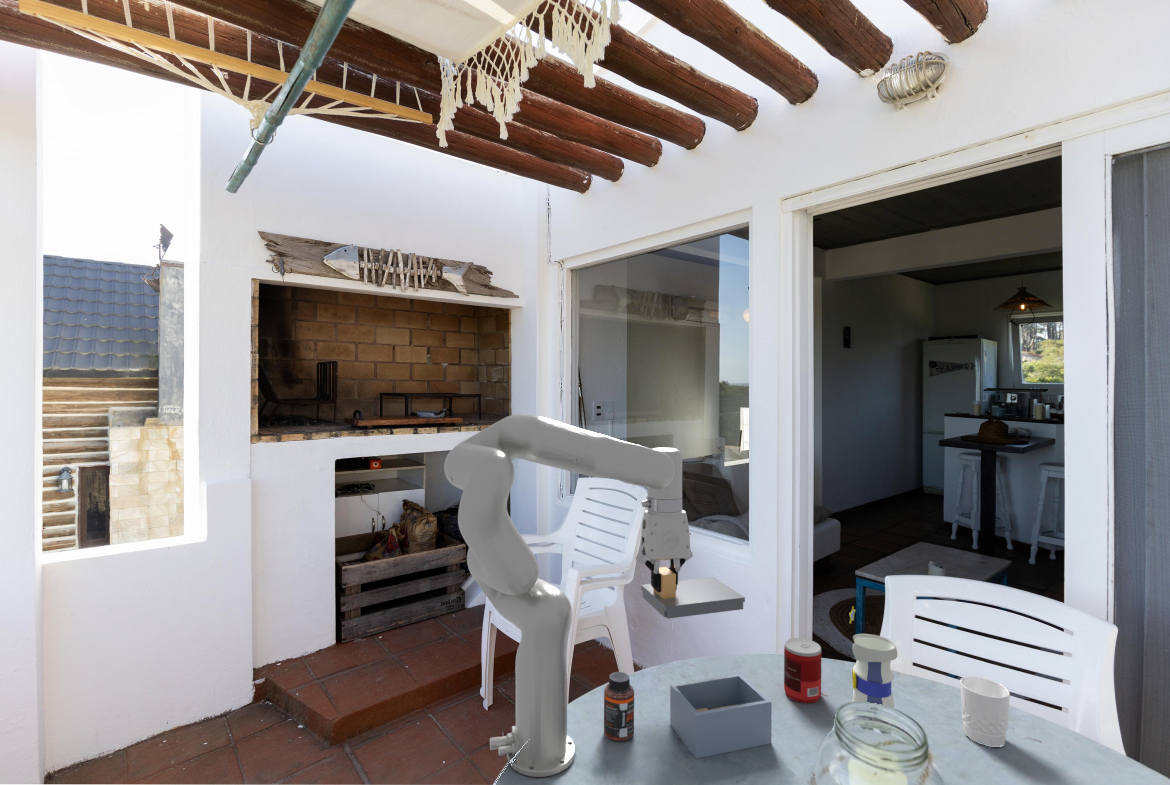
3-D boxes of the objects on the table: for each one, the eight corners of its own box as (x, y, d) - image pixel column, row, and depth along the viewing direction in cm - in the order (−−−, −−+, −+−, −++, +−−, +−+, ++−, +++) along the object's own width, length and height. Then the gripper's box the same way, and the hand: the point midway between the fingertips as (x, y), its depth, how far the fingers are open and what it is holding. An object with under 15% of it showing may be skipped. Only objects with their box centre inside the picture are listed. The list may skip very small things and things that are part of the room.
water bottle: (849, 749, 106) (850, 617, 106) (847, 724, 114) (848, 601, 114) (899, 760, 103) (900, 624, 102) (893, 734, 111) (894, 607, 110)
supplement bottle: (632, 745, 107) (632, 686, 107) (601, 741, 108) (601, 682, 108) (635, 726, 113) (635, 670, 113) (606, 723, 114) (606, 667, 114)
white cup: (965, 720, 115) (965, 672, 115) (1012, 737, 110) (1013, 686, 109) (955, 737, 110) (955, 686, 110) (1005, 756, 104) (1005, 702, 104)
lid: (666, 618, 115) (666, 582, 115) (641, 595, 128) (641, 562, 128) (744, 609, 120) (744, 574, 120) (713, 587, 133) (713, 556, 133)
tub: (695, 758, 103) (696, 715, 103) (670, 724, 114) (670, 685, 114) (771, 743, 108) (771, 701, 108) (739, 711, 118) (740, 673, 118)
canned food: (824, 691, 126) (824, 642, 126) (817, 708, 119) (817, 656, 119) (788, 681, 130) (788, 634, 130) (780, 697, 124) (780, 647, 124)
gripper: (636, 510, 116) (635, 599, 116) (706, 506, 121) (706, 591, 121) (623, 503, 124) (623, 587, 124) (690, 499, 128) (690, 580, 128)
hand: (664, 588), depth 122 cm, fingers closed on lid, 3 cm apart
